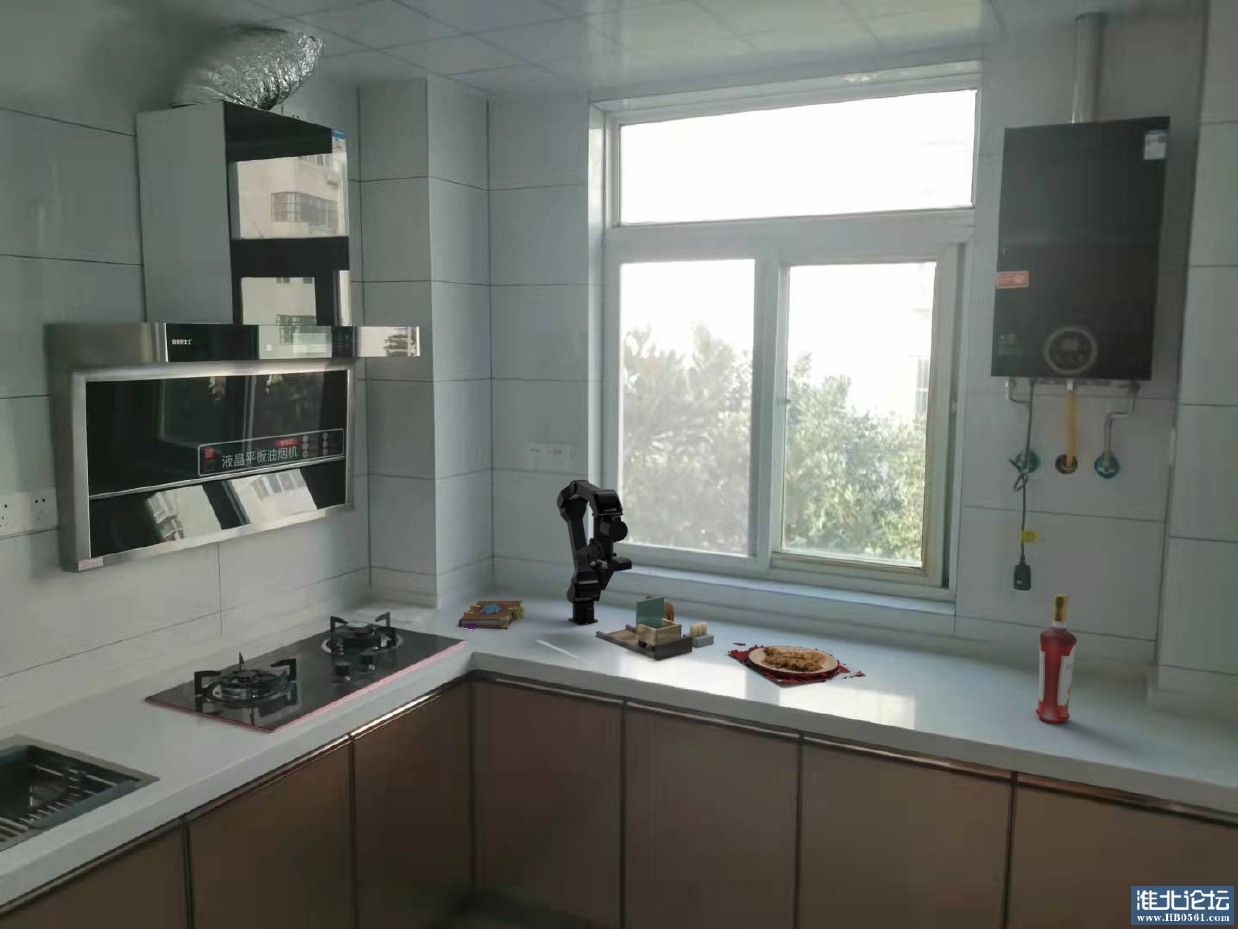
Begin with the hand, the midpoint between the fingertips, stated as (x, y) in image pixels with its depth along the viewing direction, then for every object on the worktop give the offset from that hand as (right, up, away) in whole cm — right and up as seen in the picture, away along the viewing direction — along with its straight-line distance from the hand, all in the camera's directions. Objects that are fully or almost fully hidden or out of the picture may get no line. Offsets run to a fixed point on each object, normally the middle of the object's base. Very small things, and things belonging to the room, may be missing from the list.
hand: (602, 589), depth 264 cm
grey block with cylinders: (+26, -14, -7) cm, 30 cm away
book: (-33, -12, +15) cm, 38 cm away
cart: (+15, -14, -13) cm, 24 cm away
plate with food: (+50, -17, -21) cm, 56 cm away
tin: (+16, -12, +11) cm, 23 cm away
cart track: (+11, -14, -8) cm, 20 cm away
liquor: (+100, -22, -55) cm, 116 cm away
